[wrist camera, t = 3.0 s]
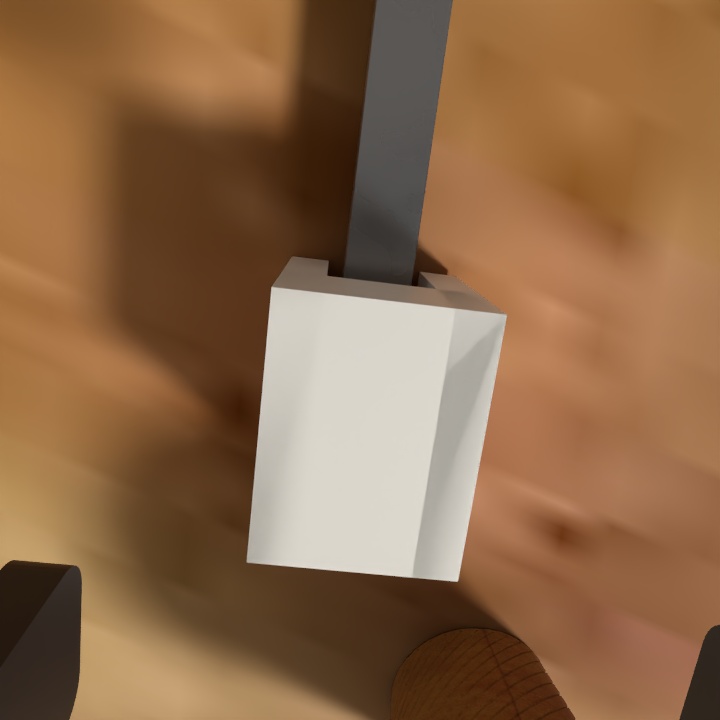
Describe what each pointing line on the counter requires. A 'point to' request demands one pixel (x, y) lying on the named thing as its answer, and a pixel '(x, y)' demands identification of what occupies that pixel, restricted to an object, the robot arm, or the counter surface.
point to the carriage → (371, 422)
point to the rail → (395, 138)
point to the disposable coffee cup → (475, 681)
